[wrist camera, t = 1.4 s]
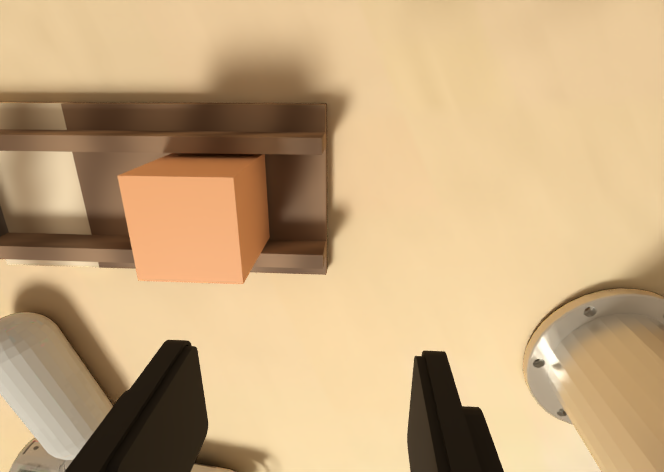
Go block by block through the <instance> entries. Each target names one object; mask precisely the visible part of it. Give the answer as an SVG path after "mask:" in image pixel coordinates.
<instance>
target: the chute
mask: <svg viewBox="0 0 664 472" xmlns="http://www.w3.org/2000/svg"><path fill="white" fill-rule="evenodd" d="M171 153H212V154H265V167H266V184H267V200H268V216H269V233H270V238H269V239H268V241H267V243H266V245H265V246H264V248H263V250H262V252H261V253H260V255H259V257H258V259H257V260H256V262H255V264H254V266H253V268H252V269H251V271H250V272H261V273H293V274H324V275H326V273H327V104H287V103H71V102H0V259H5V260H6V263H7V264H9V265H40V266H72V267H103V268H135V269H136V267H135V262H134V257H133V252H132V247H131V242H130V237H129V232H128V227H127V222H126V217H125V212H124V207H123V202H122V197H121V192H120V187H119V182H118V175H120V174H123V173H125V172H128V171H130V170H132V169H135V168H137V167H140V166H142V165H144V164H147V163H149V162H152V161H154V160H156V159H159V158H161V157H164V156H166V155H169V154H171Z"/></svg>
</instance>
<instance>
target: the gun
mask: <svg viewBox="0 0 664 472" xmlns="http://www.w3.org/2000/svg"><path fill="white" fill-rule="evenodd" d="M0 394H1V396H2V397H3V398H4V399H5V401H6V402H7V403H8V404H9V406H10V407H11V408H12V409H13V411H14V412H15V413H16V414H17V415H18V417H19V418H20V419H21V420H22V422H23V423H24V424H25V425H26V427H27V428H28V429H29V430H30V432H31V433H32V434H33V435H34V437H35V438H33V439H32V440H31V441H30V442H29V443H28V444H27V445H26V446H25V447H24V448H23V449H22V451H21V452H20V453H19V455H18V456H17V458H16V459H15V461H14V462H13V464H12V467H11V469H10V471H9V472H64V471H65V470H66V469H67V467H68V466H69V465H70V463H71V462H72V461H73V459H74V458H75V457H76V455H77V454H78V453H79V451H80V450H81V449H82V447H83V446H84V445H85V443H86V442H87V441H88V439H89V438H90V437H91V435H92V434H93V433H94V431H95V430H96V429H97V427H98V426H99V425H100V423H101V422H102V421H103V419H104V418H105V417H106V415H107V414H108V413H109V411H110V410H111V409H112V407H113V406H112V403H111V402H110V401H109V399H108V398H107V396H106V395H105V393H104V392H103V391H102V389H101V388H100V386H99V385H98V383H97V382H96V381H95V379H94V378H93V376H92V375H91V373H90V372H89V370H88V369H87V368H86V366H85V365H84V363H83V362H82V360H81V359H80V358H79V356H78V355H77V353H76V352H75V350H74V349H73V348H72V346H71V345H70V343H69V342H68V340H67V339H66V337H65V336H64V335H63V333H62V332H61V330H60V329H59V327H58V326H57V325H56V324H55V323H54V322H53V321H52V320H50V319H49V318H48V317H45V316H43V315H41V314H37V313H32V312H20V313H15V314H10V315H8V316H5V317H3V318H1V319H0ZM191 472H235V471H233V470H231V469H226V468H220V467H214V466H209V465H203V464H197V463H194V465H193V468H192V470H191Z"/></svg>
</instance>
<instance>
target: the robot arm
mask: <svg viewBox="0 0 664 472" xmlns="http://www.w3.org/2000/svg"><path fill="white" fill-rule="evenodd" d="M523 373H524V377H525V382H526V384H527V386H528V388H529V390H530V392H531V394H532V396H533V397H534V399H535V400H536V402H537V403H538V404H539V405H540V406H541V407H542V408H543V409H544V410H545V411H546V412H547V413H549V414H550V415H552V416H553V417H555V418H557V419H559V420H562V421H564V422H567V423H570V424H573V425H574V427H575V429H576V430H577V432H578V434H579V435H580V437H581V439H582V440H583V442H584V443H585V445H586V447H587V448H588V450H589V452H590V453H591V455H592V457H593V458H594V460H595V462H596V463H597V465H598V467H599V468H600V470H601V472H664V297H663V296H660V295H658V294H656V293H653V292H649V291H644V290H639V289H623V288H618V289H610V290H602V291H598V292H595V293H591V294H588V295H584V296H582V297H580V298H578V299H575V300H573V301H571V302H569V303H567V304H565V305H564V306H562V307H561V308H559V309H558V310H556V311H555V312H553V313H552V314H551V315H550V316H549V317H548V318H547V319H546V320H544V321H543V322H542V323H541V325H540V326H539V327H538V328H537V330H536V331H535V332H534V333H533V335H532V337H531V339H530V341H529V343H528V345H527V347H526V351H525V355H524V358H523ZM207 430H208V418H207V411H206V404H205V397H204V391H203V384H202V377H201V371H200V364H199V357H198V351H197V348H196V347H194V346H191V343H190V342H189V341H184V340H167V341H165V342H164V343H163V345H162V346H161V348H160V349H159V350H158V352H157V353H156V354H155V356H154V357H153V358H152V360H151V361H150V362H149V364H148V365H147V367H146V368H145V369H144V371H143V372H142V373H141V375H140V376H139V377H138V379H137V380H136V381H135V383H134V384H133V385H132V387H131V388H130V389H129V390H127V391H126V392H124V393H123V395H122V396H121V397H120V398H119V399H118V401H117V402H116V403H115V405H114V406H113V407H112V409H111V410H110V411H109V413H108V414H107V415H106V417H105V418H104V419H103V421H102V422H101V423H100V425H99V426H98V427H97V429H96V430H95V431H94V433H93V434H92V435H91V437H90V438H89V439H88V441H87V442H86V443H85V445H84V446H83V447H82V449H81V450H80V451H79V453H78V454H77V455H76V457H75V458H74V459H73V461H72V462H71V463H70V465H69V466H68V467H67V469H66V470H65V471H64V472H191V470H192V468H193V465H194V463H195V461H196V458H197V456H198V454H199V451H200V449H201V447H202V444H203V442H204V440H205V437H206V435H207ZM407 443H408V454H409V462H410V470H411V472H504V471H503V468H502V465H501V462H500V460H499V457H498V454H497V451H496V448H495V446H494V443H493V440H492V437H491V434H490V432H489V429H488V426H487V423H486V420H485V418H484V415H483V413H482V411H481V409H480V408H479V407H464V406H462V405H461V402H460V398H459V395H458V392H457V388H456V385H455V382H454V378H453V375H452V372H451V368H450V365H449V362H448V358H447V355H446V353H445V352H442V351H423V352H422V356H415V358H414V367H413V378H412V389H411V400H410V411H409V422H408V433H407Z"/></svg>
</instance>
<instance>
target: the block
mask: <svg viewBox="0 0 664 472" xmlns="http://www.w3.org/2000/svg"><path fill="white" fill-rule="evenodd" d="M118 182H119V187H120V192H121V197H122V202H123V207H124V212H125V217H126V222H127V227H128V232H129V237H130V242H131V247H132V252H133V257H134V262H135V267H136V272H137V277H138V281H165V282H194V283H224V284H243V283H244V282H245V280H246V278H247V276H248V275H249V273H250V271H251V269H252V268H253V266H254V264H255V262H256V260H257V259H258V257H259V255H260V253H261V252H262V250H263V248H264V246H265V245H266V243H267V241H268V239H269V238H270V233H269V216H268V200H267V184H266V167H265V154H212V153H171V154H169V155H166V156H164V157H161V158H159V159H156V160H154V161H152V162H149V163H147V164H144V165H142V166H140V167H137V168H135V169H132V170H130V171H128V172H125V173H123V174H120V175H118Z"/></svg>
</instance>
